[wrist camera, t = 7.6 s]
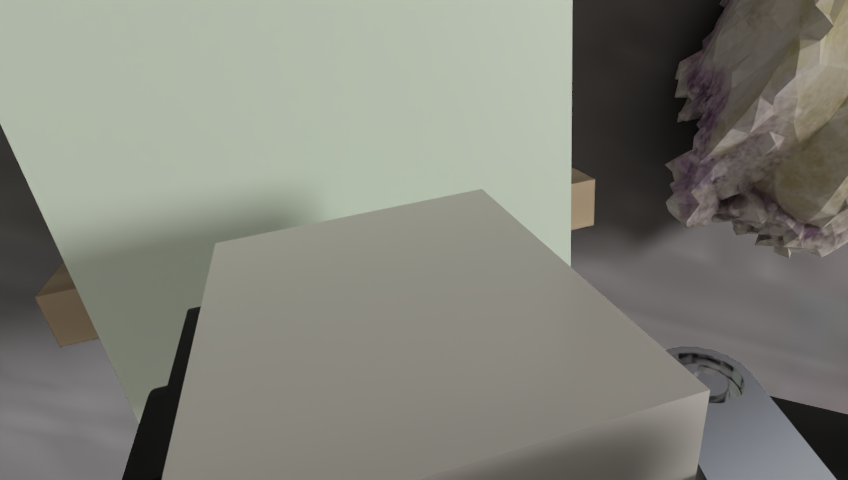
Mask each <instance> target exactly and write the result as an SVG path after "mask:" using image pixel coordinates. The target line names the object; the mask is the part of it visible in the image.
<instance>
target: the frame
mask: <svg viewBox="0 0 848 480" xmlns="http://www.w3.org/2000/svg"><path fill="white" fill-rule="evenodd" d="M594 200H595V179H594V178H592V177H590V176H588V175H586V174H584V173H582V172H580V171H578V170H576V169H574V168H573V167H571V230H574V229H578V228H583V227H587V226H592V225H594ZM35 299H36V301H37V303H38V305H39V307H40V309H41V311H42V313H43V315H44V317H45V319H46V321H47V323H48V325H49V327H50V329H51V331H52V333H53V334H54V336H55V338H56V340H57V342H58V344H59V346H60V347H63V346H67V345H72V344H76V343H80V342H85V341H89V340H94V339H98V338H99V336H98V334H97V332H96V330H95V328H94V325H93V323H92V321H91V319H90V317H89V315H88V313H87V310H86V308H85V306H84V304H83V302H82V300H81V297H80V295H79V293H78V291H77V289H76V287H75V284H74V282H73V280H72V278H71V276H70V274H69V271H68V269H67V267H66V265H65V263H64V262H63V263H62V265H61V266H60V267H59V268H58V269H57V271H56V272H55V273H54V274H53V276H52V277H51V278H50V279H49V280H48V282H47V283H46V284H45V285H44V287H43V288H42V289H41V290H40V291H39V293H38V294H37V295H36V296H35Z"/></svg>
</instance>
